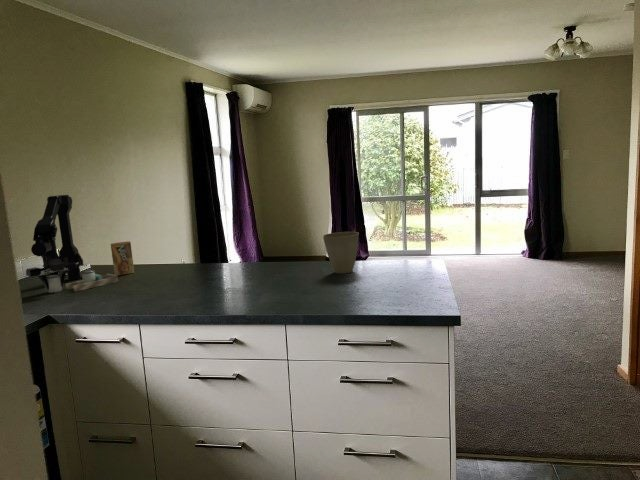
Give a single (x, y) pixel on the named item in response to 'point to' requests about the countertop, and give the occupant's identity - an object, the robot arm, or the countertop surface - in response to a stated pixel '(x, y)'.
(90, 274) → the jar in lane
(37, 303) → the countertop surface
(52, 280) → the jar
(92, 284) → the lane
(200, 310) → the countertop surface
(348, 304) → the countertop surface
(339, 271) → the plant pot
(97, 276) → the follower
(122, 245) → the candy box
